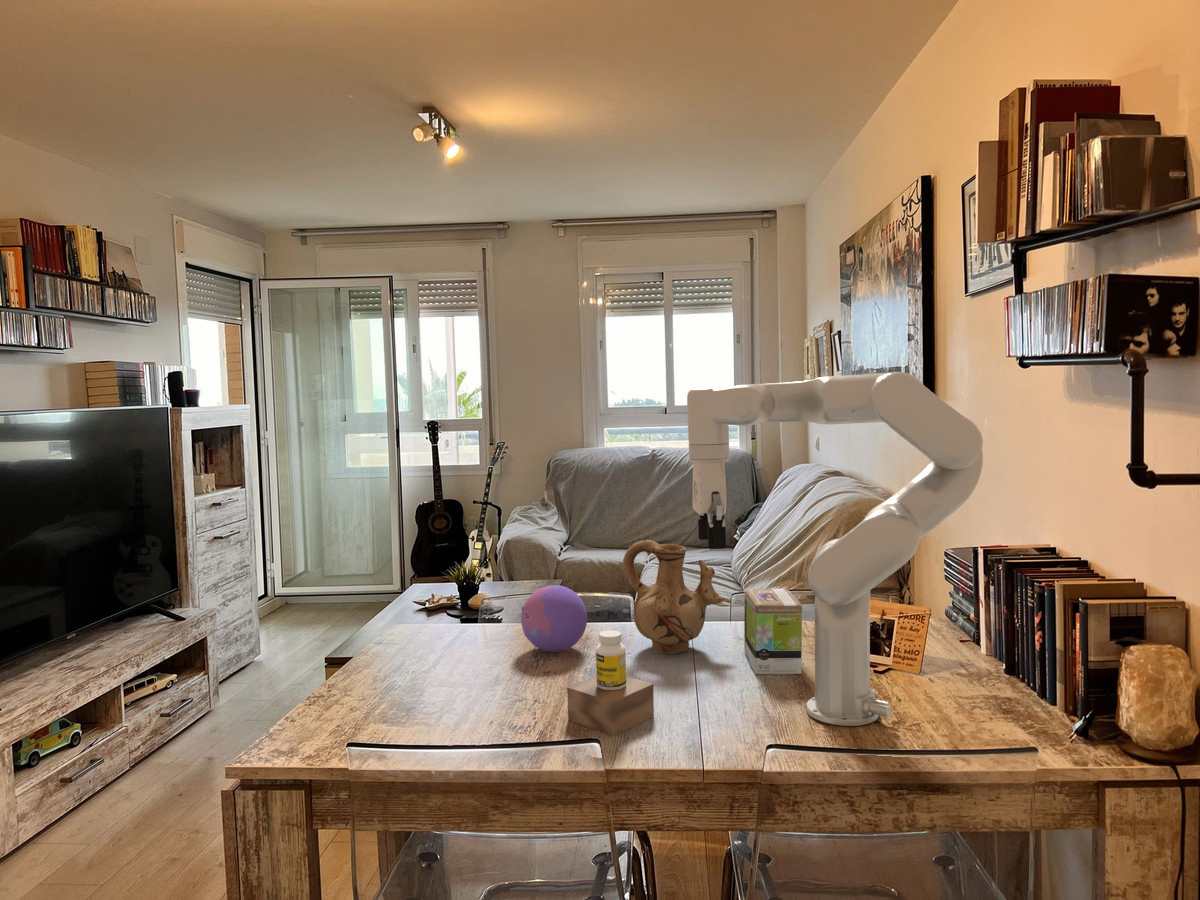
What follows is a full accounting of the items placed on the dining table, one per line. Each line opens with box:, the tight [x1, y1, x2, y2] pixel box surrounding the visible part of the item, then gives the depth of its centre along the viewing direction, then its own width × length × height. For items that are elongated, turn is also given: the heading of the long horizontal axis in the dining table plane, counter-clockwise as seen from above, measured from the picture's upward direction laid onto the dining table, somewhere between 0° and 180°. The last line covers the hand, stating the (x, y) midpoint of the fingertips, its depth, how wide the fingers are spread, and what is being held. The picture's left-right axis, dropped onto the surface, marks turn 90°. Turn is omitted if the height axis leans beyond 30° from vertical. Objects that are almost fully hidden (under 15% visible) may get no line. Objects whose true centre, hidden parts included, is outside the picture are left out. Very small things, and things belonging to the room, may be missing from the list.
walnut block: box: [566, 675, 655, 736], centre depth 151 cm, size 11×11×6 cm
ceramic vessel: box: [622, 539, 725, 655], centre depth 189 cm, size 18×19×25 cm
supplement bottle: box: [595, 629, 627, 690], centre depth 150 cm, size 5×5×10 cm
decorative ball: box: [520, 584, 588, 653], centre depth 190 cm, size 15×15×15 cm
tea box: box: [743, 588, 803, 675], centre depth 178 cm, size 15×10×15 cm, turn 179°
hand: (711, 543), depth 157 cm, fingers open, 9 cm apart
